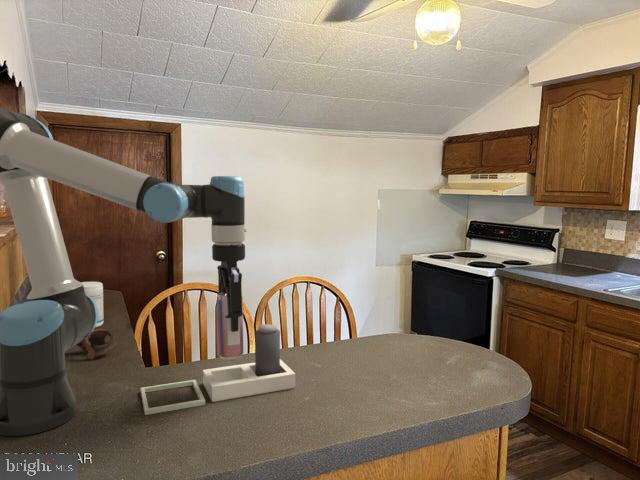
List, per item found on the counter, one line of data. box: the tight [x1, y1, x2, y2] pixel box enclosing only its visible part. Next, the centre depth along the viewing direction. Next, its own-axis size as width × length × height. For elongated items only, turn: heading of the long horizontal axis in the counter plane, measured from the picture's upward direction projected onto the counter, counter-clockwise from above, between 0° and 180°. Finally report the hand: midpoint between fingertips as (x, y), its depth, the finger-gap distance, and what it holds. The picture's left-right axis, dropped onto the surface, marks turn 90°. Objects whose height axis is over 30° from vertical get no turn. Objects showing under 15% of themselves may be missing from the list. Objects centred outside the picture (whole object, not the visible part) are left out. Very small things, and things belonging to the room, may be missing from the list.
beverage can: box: [216, 292, 244, 360], centre depth 112 cm, size 6×6×15 cm
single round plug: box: [254, 323, 281, 377], centre depth 116 cm, size 6×6×14 cm
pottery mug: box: [75, 328, 117, 361], centre depth 135 cm, size 12×10×8 cm
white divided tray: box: [202, 358, 296, 403], centre depth 115 cm, size 20×11×4 cm, turn 114°
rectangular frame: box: [140, 379, 206, 416], centre depth 108 cm, size 13×13×1 cm
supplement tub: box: [81, 281, 105, 328], centre depth 163 cm, size 10×10×15 cm
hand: (230, 340), depth 112 cm, fingers closed on beverage can, 6 cm apart
